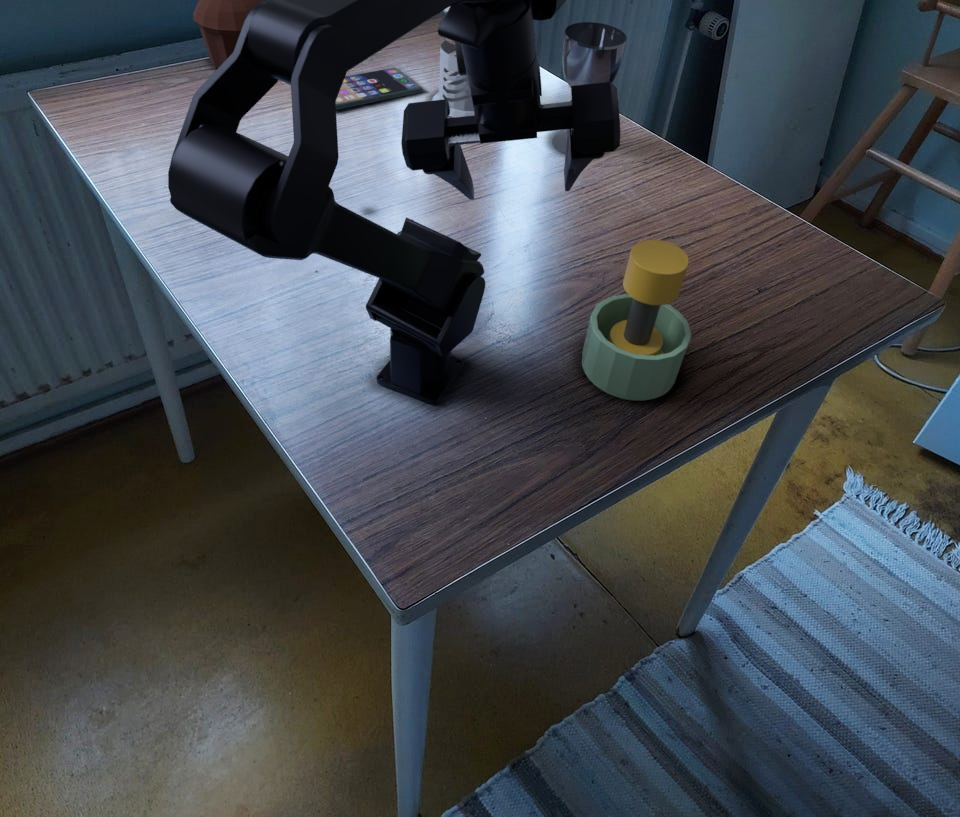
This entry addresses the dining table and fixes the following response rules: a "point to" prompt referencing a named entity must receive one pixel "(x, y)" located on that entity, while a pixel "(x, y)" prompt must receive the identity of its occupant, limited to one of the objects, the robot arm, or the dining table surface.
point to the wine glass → (590, 59)
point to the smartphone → (375, 87)
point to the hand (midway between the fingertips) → (519, 191)
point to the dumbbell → (649, 294)
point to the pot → (626, 369)
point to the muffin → (222, 25)
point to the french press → (459, 87)
